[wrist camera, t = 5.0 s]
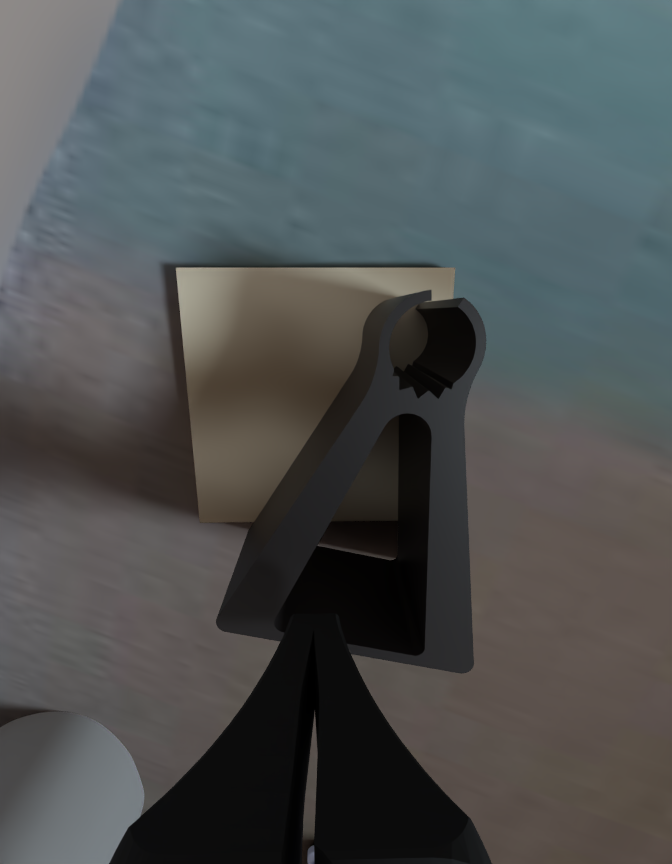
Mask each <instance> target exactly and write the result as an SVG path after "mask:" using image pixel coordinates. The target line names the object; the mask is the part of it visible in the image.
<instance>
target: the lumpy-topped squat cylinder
mask: <svg viewBox="0 0 672 864" xmlns="http://www.w3.org/2000/svg"><path fill="white" fill-rule="evenodd" d="M143 803H144V790H143V786H142V783H141V779H140V776H139V774H138V771H137V768H136V766H135V763H134V761H133V759H132V757H131V755H130V754H129V752H128V751H127V749H126V748H125V747H124V745H123V744H122V743H121V742H120V741H119V740H118V739H117V738H116V737H115V736H114V735H113V734H112V733H111V732H110V731H109V730H108V729H107V728H105V727H104V726H103V725H101V724H100V723H98V722H97V721H95V720H93V719H91V718H88V717H86V716H83V715H80V714H76V713H71V712H63V711H51V712H43V713H37V714H32V715H28V716H25V717H21V718H18V719H15V720H13V721H11V722H9V723H7V724H5V725H3V726H2V727H0V864H109V863H110V861H111V859H112V857H113V855H114V853H115V851H116V849H117V847H118V845H119V843H120V841H121V840H122V838H123V836H124V834H125V832H126V831H127V829H128V827H129V826H130V825H132V824H133V823H134V822H135V821H136V820H137V819H138V818H140V815H141V812H142V808H143Z"/></svg>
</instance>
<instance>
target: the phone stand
mask: <svg viewBox="0 0 672 864" xmlns="http://www.w3.org/2000/svg"><path fill="white" fill-rule="evenodd" d="M426 301H430V302H426ZM417 304H418V305H417ZM415 305H417V307H416V308H415V309H416V310H417V311H418V312H419V313H420V314H421V315H422V316H423V318H424V319H425V322H426V324H427V328H428V340H427V344H426V346H425V349H424V350H423V352H422V353H421V355H420V356H419V357H418V358H417V359H416V360H414V361H413V365H410V364H408V365H407V367H406V368H405V370H404V371H403V370H401V369H400V368H399V367H397V366H396V367H395V368H393V365H392V363H391V359H390V354H389V343H390V338H391V334H392V331H393V329H394V327H395V325H396V323H397V322H398V320H399V319H400V318H401V316H402V315H403V314H404V313H405V312H406V311H408V310H409V309H410V308H412V307H414V306H415ZM485 349H486V333H485V328H484V324H483V321H482V319H481V317H480V315H479V313H478V312H477V310H476V309H475V307H474V306H473V305H472V304H471V303H470V302H469V301H468V300H466V299H465V298H457V299H448V300H439V301H432V290H426V291H421V292H417V293H413V294H408V295H404V296H399V297H395V298H391V299H388V300H385V301H383V302H382V303H380V304H379V305H377V306H376V307H375V308H374V309H373V310H372V311H371V313H370V314H369V315H368V317H367V319H366V321H365V324H364V327H363V333H362V345H361V350H360V354H359V358H358V360H357V363H356V365H355V367H354V369H353V371H352V373H351V375H350V376H349V378H348V379H347V381H346V382H345V384H344V385H343V387H342V388H341V390H340V391H339V393H338V395H337V396H336V398H335V399H334V401H333V402H332V404H331V405H330V407H329V408H328V410H327V411H326V413H325V414H324V416H323V417H322V419H321V421H320V422H319V424H318V425H317V427H316V428H315V430H314V431H313V433H312V434H311V436H310V437H309V439H308V440H307V442H306V443H305V445H304V447H303V448H302V450H301V451H300V453H299V454H298V456H297V457H296V459H295V460H294V462H293V463H292V465H291V466H290V468H289V469H288V471H287V473H286V474H285V476H284V477H283V479H282V480H281V482H280V483H279V485H278V486H277V488H276V489H275V491H274V492H273V494H272V495H271V497H270V499H269V500H268V502H267V503H266V505H265V506H264V508H263V509H262V511H261V512H260V514H259V515H258V517H257V518H256V520H255V521H254V523H253V525H252V526H251V528H250V529H249V531H248V533H247V536H246V539H245V542H244V545H243V547H242V550H241V553H240V556H239V558H238V561H237V564H236V567H235V569H234V572H233V575H232V578H231V581H230V583H229V586H228V589H227V592H226V594H225V597H224V600H223V603H222V605H221V608H220V611H219V614H218V617H217V619H216V624H217V626H218V628H219V629H220V630H222V631H225V632H230V633H236V634H241V635H247V636H252V637H258V638H264V639H269V640H275V641H281V640H282V638H283V635H284V633H285V631H286V628H287V626H288V623H289V620H290V617H291V616H292V615H293V614H323V613H336V614H337V615H338V616H339V619H340V624H341V628H342V632H343V635H344V638H345V641H346V643H347V646H348V649H349V650H350V653H351V654H354V655H360V656H365V657H371V658H377V659H382V660H388V661H394V662H399V663H405V664H411V665H416V666H422V667H427V668H433V669H439V670H444V671H450V672H456V673H467V672H469V671H470V670H471V669H472V668H473V665H474V658H473V633H472V609H471V584H470V559H469V534H468V510H467V485H466V460H465V435H464V415H465V407H466V401H467V397H468V394H469V391H470V388H471V385H472V382H473V380H474V378H475V376H476V374H477V372H478V370H479V368H480V366H481V364H482V361H483V358H484V354H485ZM398 415H399V463H398V552H397V557H396V559H394V560H386V559H381V558H376V557H371V556H366V555H361V554H355V553H350V552H345V551H340V550H335V549H330V548H325V547H320V546H317V544H318V543H319V541H320V539H321V537H322V536H323V534H324V532H325V530H326V529H327V527H328V525H329V523H330V522H331V520H332V518H333V516H334V515H335V513H336V511H337V509H338V508H339V506H340V504H341V502H342V501H343V499H344V497H345V495H346V494H347V492H348V490H349V488H350V487H351V485H352V483H353V481H354V480H355V478H356V476H357V474H358V473H359V471H360V469H361V467H362V466H363V464H364V462H365V460H366V459H367V457H368V455H369V453H370V452H371V450H372V448H373V446H374V445H375V443H376V441H377V439H378V438H379V436H380V434H381V432H382V431H383V429H384V427H385V425H386V424H387V423H388V422H389V421H390V420H391V419H392V418H394V417H395V416H398Z"/></svg>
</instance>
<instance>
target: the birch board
mask: <svg viewBox="0 0 672 864" xmlns="http://www.w3.org/2000/svg"><path fill="white" fill-rule="evenodd" d="M176 274H177V285H178V296H179V306H180V317H181V328H182V338H183V349H184V360H185V370H186V381H187V392H188V402H189V413H190V424H191V434H192V445H193V455H194V466H195V477H196V487H197V498H198V509H199V519H200V523H211V522H254V521H255V520H256V518H257V517H258V515H259V514H260V512H261V511H262V509H263V508H264V506H265V505H266V503H267V502H268V500H269V499H270V497H271V495H272V494H273V492H274V491H275V489H276V488H277V486H278V485H279V483H280V482H281V480H282V479H283V477H284V476H285V474H286V473H287V471H288V469H289V468H290V466H291V465H292V463H293V462H294V460H295V459H296V457H297V456H298V454H299V453H300V451H301V450H302V448H303V447H304V445H305V443H306V442H307V440H308V439H309V437H310V436H311V434H312V433H313V431H314V430H315V428H316V427H317V425H318V424H319V422H320V421H321V419H322V417H323V416H324V414H325V413H326V411H327V410H328V408H329V407H330V405H331V404H332V402H333V401H334V399H335V398H336V396H337V395H338V393H339V391H340V390H341V388H342V387H343V385H344V384H345V382H346V381H347V379H348V378H349V376H350V375H351V373H352V371H353V369H354V367H355V365H356V363H357V360H358V358H359V354H360V350H361V345H362V333H363V327H364V324H365V321H366V319H367V317H368V315H369V314H370V313H371V311H372V310H373V309H374V308H375V307H376V306H377V305H379V304H380V303H382V302H383V301H385V300H388V299H391V298H395V297H399V296H404V295H408V294H413V293H417V292H421V291H426V290H432V301H439V300H448V299H453V291H454V276H455V268H176ZM426 302H430V301H426ZM417 305H418V304H417ZM417 305H415V306H414V307H412V308H410V309H409V310H408V311H406V312H405V313H404V314H403V315H402V316H401V318H400V319H399V320H398V322H397V323H396V325H395V327H394V329H393V331H392V334H391V338H390V343H389V354H390V359H391V363H392V365H393V368H395V367H396V366H397V367H399V368H400V369H401V370H403V371H404V370H405V368H406V367H407V365H408V364H410V365H413V361H414V360H416V359H417V358H418V357H419V356H420V355H421V353H422V352H423V350H424V349H425V346H426V344H427V340H428V328H427V324H426V322H425V319H424V318H423V316H422V315H421V314H420V313H419V312H418V311H417V310H416V309H415V308H416V307H417ZM398 463H399V415H398V416H395V417H394V418H392V419H391V420H390V421H389V422H388V423H387V424H386V425H385V427H384V429H383V431H382V432H381V434H380V436H379V438H378V439H377V441H376V443H375V445H374V446H373V448H372V450H371V452H370V453H369V455H368V457H367V459H366V460H365V462H364V464H363V466H362V467H361V469H360V471H359V473H358V474H357V476H356V478H355V480H354V481H353V483H352V485H351V487H350V488H349V490H348V492H347V494H346V495H345V497H344V499H343V501H342V502H341V504H340V506H339V508H338V509H337V511H336V513H335V515H334V516H333V518H332V520H331V521H398Z"/></svg>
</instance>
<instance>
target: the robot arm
mask: <svg viewBox="0 0 672 864" xmlns="http://www.w3.org/2000/svg"><path fill="white" fill-rule="evenodd" d="M314 712H315V717H316V733H317V748H318V762H317V789H316V814H315V837H314V845H313V846H311V847H310V848H309V849H308V856H307V860H308V864H492V863H491V861H490V858H489V856H488V853H487V851H486V849H485V847H484V845H483V842H482V840H481V838H480V836H479V834H478V832H477V830H476V828H475V826H474V824H473V822H472V820H471V819H470V818H469V817H468V816H467V815H466V814H465V813H464V812H463V811H462V810H461V809H460V808H459V807H458V806H457V805H456V804H455V803H454V802H453V801H452V800H451V799H450V798H449V797H448V796H447V795H446V794H445V793H444V792H443V791H442V789H441V788H440V787H439V786H438V785H437V784H436V783H435V782H434V781H433V779H432V778H431V777H430V776H429V775H428V774H427V773H426V772H425V770H424V769H423V768H422V767H421V766H420V764H419V763H418V762H417V760H416V759H415V758H414V757H413V755H412V754H411V753H410V752H409V750H408V749H407V748H406V747H405V745H404V744H403V743H402V742H401V740H400V739H399V737H398V736H397V735H396V733H395V732H394V730H393V729H392V727H391V726H390V725H389V723H388V722H387V720H386V719H385V717H384V715H383V714H382V712H381V711H380V709H379V708H378V706H377V704H376V703H375V701H374V699H373V698H372V696H371V694H370V692H369V690H368V689H367V687H366V685H365V683H364V681H363V679H362V677H361V675H360V673H359V671H358V669H357V667H356V665H355V662H354V660H353V658H352V656H351V653H350V651H349V649H348V646H347V643H346V641H345V638H344V635H343V632H342V628H341V624H340V619H339V616H338V615H337V614H336V613H323V614H293V615H292V616H291V617H290V620H289V623H288V626H287V628H286V631H285V633H284V635H283V638H282V640H281V642H280V644H279V646H278V648H277V650H276V652H275V654H274V656H273V658H272V659H271V661H270V663H269V665H268V667H267V669H266V670H265V672H264V674H263V675H262V677H261V679H260V680H259V682H258V683H257V685H256V687H255V688H254V690H253V691H252V693H251V695H250V696H249V698H248V699H247V701H246V702H245V703H244V705H243V706H242V708H241V709H240V711H239V712H238V713H237V715H236V716H235V717H234V719H233V720H232V721H231V723H230V724H229V725H228V726H227V728H226V729H225V730H224V731H223V733H222V734H221V735H220V736H219V737H218V739H217V740H216V741H215V742H214V744H213V745H212V746H211V747H210V748H209V749H208V751H207V752H206V753H205V754H204V755H203V756H202V757H201V758H200V759H199V760H198V762H197V763H196V764H195V765H194V766H193V767H192V768H191V769H190V770H189V771H188V772H187V773H186V774H185V775H184V776H183V777H182V778H181V779H180V780H179V781H178V782H177V783H176V784H175V785H174V786H173V787H172V788H171V789H170V790H169V791H168V792H167V793H166V794H165V795H164V796H163V797H162V798H161V799H160V800H158V801H157V802H156V803H155V804H154V805H153V806H152V807H151V808H150V809H148V810H147V811H146V812H145V813H144V814H143V815H142V816H141V817H140V818H138V819H137V820H136V821H135V822H134V823H133V824H132V825H130V826H129V827H128V829H127V831H126V832H125V834H124V836H123V838H122V840H121V841H120V843H119V845H118V847H117V849H116V851H115V853H114V855H113V857H112V859H111V861H110V863H109V864H302V839H303V814H304V802H305V791H306V782H307V773H308V765H309V756H310V747H311V738H312V729H313V721H314Z"/></svg>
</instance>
